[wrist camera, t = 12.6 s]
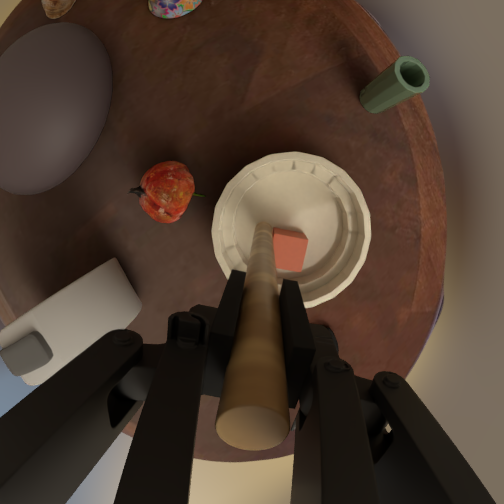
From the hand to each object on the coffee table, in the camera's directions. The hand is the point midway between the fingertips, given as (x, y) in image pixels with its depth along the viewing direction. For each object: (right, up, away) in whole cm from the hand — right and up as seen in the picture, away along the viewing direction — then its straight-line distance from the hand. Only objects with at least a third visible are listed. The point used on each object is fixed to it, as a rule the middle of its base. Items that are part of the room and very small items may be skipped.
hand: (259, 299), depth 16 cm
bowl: (+4, +6, +22) cm, 24 cm away
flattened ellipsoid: (-29, +24, +20) cm, 42 cm away
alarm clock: (-25, -4, +27) cm, 37 cm away
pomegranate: (-10, +11, +22) cm, 26 cm away
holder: (+16, +22, +18) cm, 33 cm away
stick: (+1, +5, +20) cm, 21 cm away
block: (+4, +3, +22) cm, 23 cm away
